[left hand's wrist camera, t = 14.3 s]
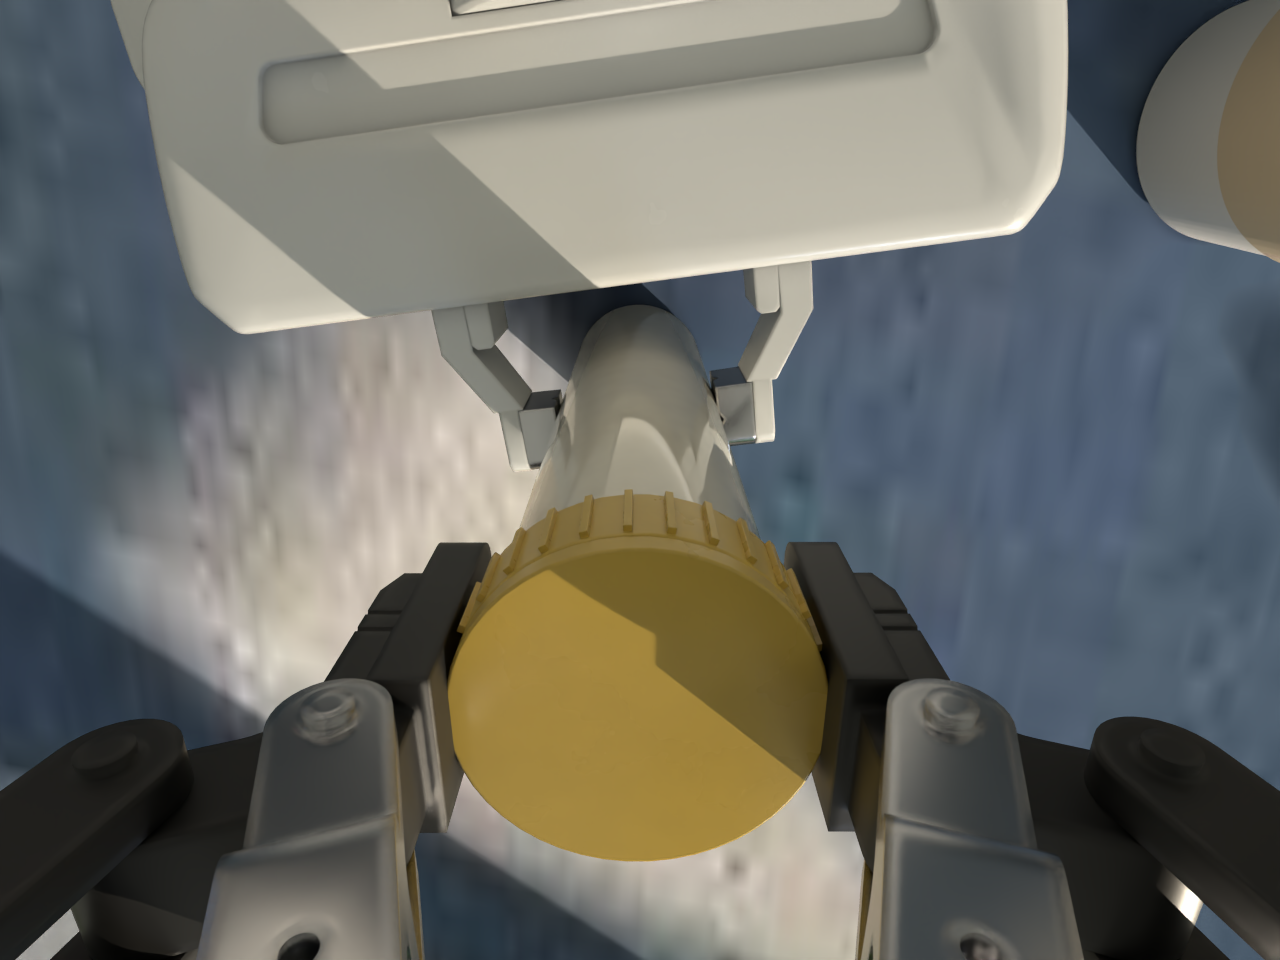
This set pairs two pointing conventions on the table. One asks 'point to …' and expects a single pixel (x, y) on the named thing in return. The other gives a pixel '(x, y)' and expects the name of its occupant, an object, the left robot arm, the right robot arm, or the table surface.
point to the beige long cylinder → (638, 422)
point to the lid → (637, 680)
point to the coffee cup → (1218, 132)
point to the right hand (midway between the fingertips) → (644, 450)
